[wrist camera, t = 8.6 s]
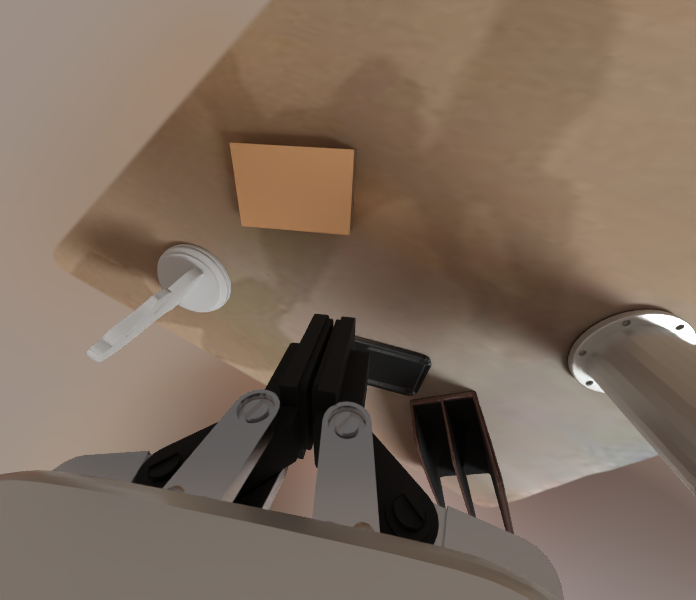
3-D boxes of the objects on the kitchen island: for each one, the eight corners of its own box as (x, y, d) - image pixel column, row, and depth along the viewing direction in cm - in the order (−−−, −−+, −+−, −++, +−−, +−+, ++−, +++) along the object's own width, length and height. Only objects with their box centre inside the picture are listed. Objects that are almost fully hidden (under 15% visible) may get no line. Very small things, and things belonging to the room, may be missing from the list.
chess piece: (245, 282, 37) (167, 356, 24) (208, 320, 41) (125, 402, 28) (182, 227, 34) (57, 278, 21) (150, 275, 38) (28, 341, 25)
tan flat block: (353, 149, 25) (229, 142, 26) (349, 235, 29) (241, 226, 30) (356, 149, 28) (243, 142, 29) (352, 227, 32) (253, 219, 33)
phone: (414, 397, 42) (319, 372, 42) (413, 391, 43) (321, 367, 43) (434, 360, 38) (330, 332, 38) (433, 355, 39) (331, 327, 39)
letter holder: (474, 388, 41) (511, 491, 29) (492, 466, 50) (526, 571, 37) (408, 398, 44) (416, 496, 32) (435, 470, 52) (450, 569, 40)
